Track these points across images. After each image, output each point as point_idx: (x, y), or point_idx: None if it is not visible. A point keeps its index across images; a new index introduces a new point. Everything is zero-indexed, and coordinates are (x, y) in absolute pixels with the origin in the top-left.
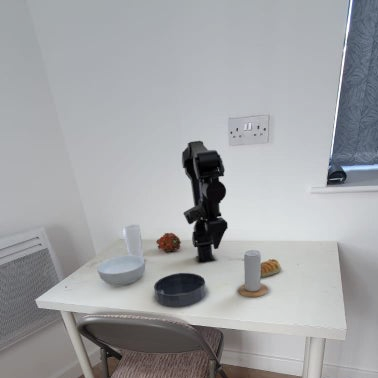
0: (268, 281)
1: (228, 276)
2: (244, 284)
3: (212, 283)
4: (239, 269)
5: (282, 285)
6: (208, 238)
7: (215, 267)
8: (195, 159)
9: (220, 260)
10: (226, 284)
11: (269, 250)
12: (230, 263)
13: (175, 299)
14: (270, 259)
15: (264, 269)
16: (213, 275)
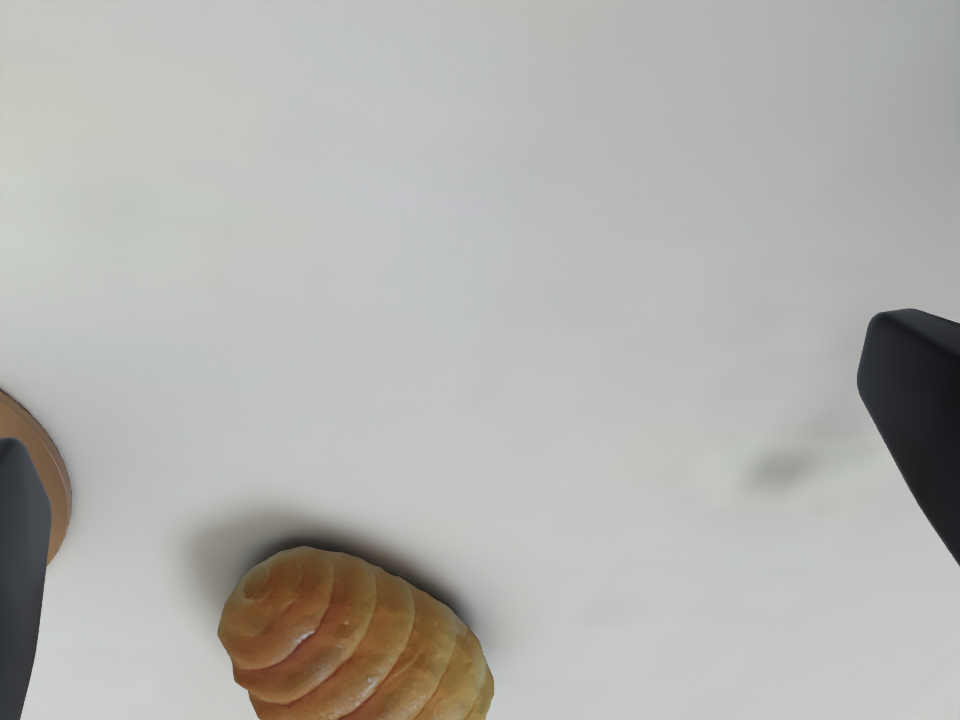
0: (129, 627)
1: (360, 268)
2: (29, 428)
3: (151, 5)
4: (534, 410)
5: None
6: (910, 343)
7: (736, 127)
8: None
9: (929, 223)
10: (90, 214)
11: (861, 681)
12: (761, 333)
13: None
14: None
15: (260, 676)
16: (459, 61)
